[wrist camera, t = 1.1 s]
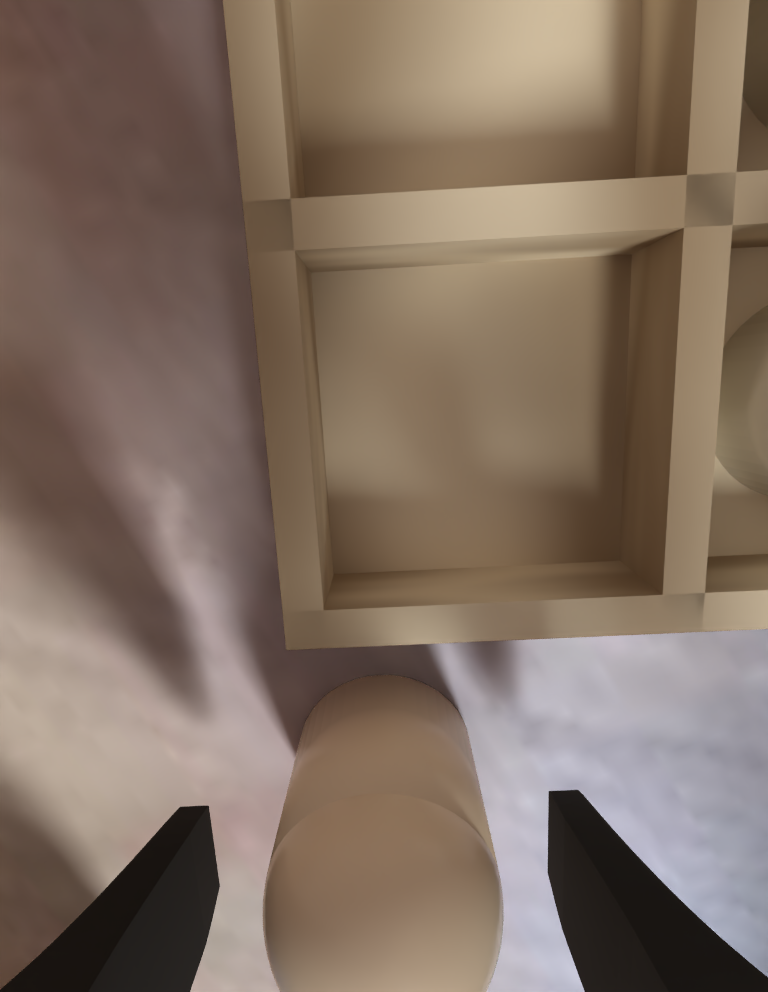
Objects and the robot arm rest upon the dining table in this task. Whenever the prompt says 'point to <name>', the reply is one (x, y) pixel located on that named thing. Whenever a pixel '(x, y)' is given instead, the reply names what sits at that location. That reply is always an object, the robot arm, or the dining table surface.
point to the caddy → (501, 313)
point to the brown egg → (383, 850)
